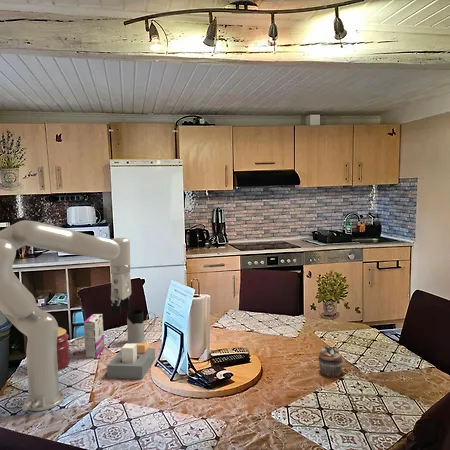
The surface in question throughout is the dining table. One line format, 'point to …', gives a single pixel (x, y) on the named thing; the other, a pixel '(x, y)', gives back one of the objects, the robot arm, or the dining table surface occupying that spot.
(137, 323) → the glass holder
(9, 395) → the dining table surface
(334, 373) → the cupcake
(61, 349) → the canister
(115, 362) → the socket
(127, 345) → the block
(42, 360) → the robot arm
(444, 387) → the dining table surface
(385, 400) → the dining table surface
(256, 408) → the dining table surface
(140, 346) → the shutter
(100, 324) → the candy bar box
